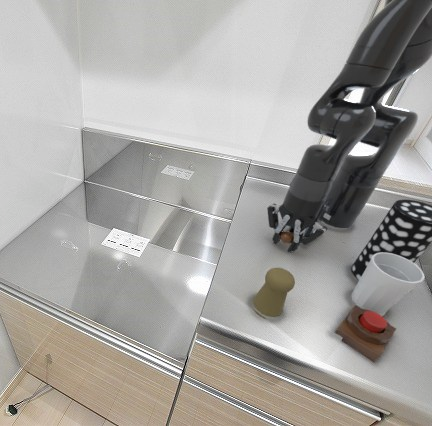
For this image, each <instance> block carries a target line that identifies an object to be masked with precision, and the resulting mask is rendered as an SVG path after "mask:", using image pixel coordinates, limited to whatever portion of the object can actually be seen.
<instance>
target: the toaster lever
mask: <svg viewBox="0 0 432 426" xmlns="http://www.w3.org/2000/svg"><path fill="white" fill-rule="evenodd" d="M280 239H281V240H280V242H282V243H284V244H291V242H292V241H293V240H294V229H293V228H291V229H290V230H289V231H286V230H284V232H283V233H282V234H281V235H280Z"/></svg>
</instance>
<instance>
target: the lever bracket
mask: <svg viewBox="0 0 432 426" xmlns="http://www.w3.org/2000/svg"><path fill="white" fill-rule="evenodd" d="M331 201H332V199H331V198H329V197H328V198H327V199H326V200H325V201H324V203H323V205H322V207H321V209H320V211H319V214H318V216H317V219H318V221H317V222H318V223H319V224H320V225H321V222H322V221H321V220H322V218H323V216H324V214H325V212H326V211H327V210H328V209H329V205H330V203H331ZM291 228H292V227H291V226H289V228H287V229H286V230H285V231H289V230H290V229H291ZM312 230H313V226H311V227H308V228H306V230H305V232H304V236H305V237H307V236H309V235H310V234H312V233H313V232H312Z"/></svg>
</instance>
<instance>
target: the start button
mask: <svg viewBox="0 0 432 426" xmlns="http://www.w3.org/2000/svg"><path fill="white" fill-rule="evenodd" d="M359 321H360V323H361V325H362V326H363V327H364V328H366V329H367V330H369V331H371V332H374V333H380V332H382V331H383V329H384V328H385V327H386V326H387V322H388V321H387V320H386V318H384V317H383V316H381V315H379V314H377V313H375V312H372V311H366V312H364V313H363V315H362V316H361V317H360V319H359ZM386 321H387V322H386Z"/></svg>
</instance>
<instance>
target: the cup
mask: <svg viewBox="0 0 432 426" xmlns="http://www.w3.org/2000/svg"><path fill="white" fill-rule="evenodd" d="M424 280H425V274H424V271H423V269H421V267H419V265H417V264H416V263H413V262H411V261H410V260H408V259H406V258H404V257H401V256H399V255H396V254H392V253H385V252H380V253H376V254H374V255H373V256H372V258H371V260H370V262H369V264H368V266H367V268H366V269H365V271H364V273H363V275H362V276H361V278H360V280H358V282H357V283H356V285H355V287H354V289H353V291H352V292H351V299H352V302H354V304H355V305H357V306H358V307H360V308H362V309H366V310H370V311H373V312H375V313H377V314H379V315H381V316H382V317H383V316H385V315H386V313H387V312H388V311H389V310H390V309H391V308H392V307H394V306H395V304H396V303H398V302H399V301H400V300H401V299H403V297H404V296H406V295H408V293H409V292H411V291H412V290H413V289H415V288H416V287H417V286H418V285H419V284H421V283H422V282H423V281H424Z"/></svg>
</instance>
